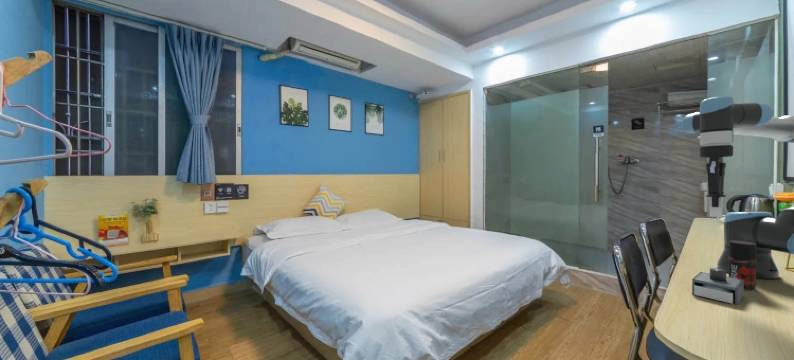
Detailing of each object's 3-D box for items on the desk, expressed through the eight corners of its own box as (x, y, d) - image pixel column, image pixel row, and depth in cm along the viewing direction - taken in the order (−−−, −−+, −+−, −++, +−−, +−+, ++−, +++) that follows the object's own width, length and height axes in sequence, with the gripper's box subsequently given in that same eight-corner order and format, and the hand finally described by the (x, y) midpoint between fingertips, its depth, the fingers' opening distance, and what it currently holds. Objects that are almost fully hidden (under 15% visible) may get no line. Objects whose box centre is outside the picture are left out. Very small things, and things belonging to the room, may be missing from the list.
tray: (702, 286, 100) (702, 278, 99) (739, 294, 93) (739, 285, 93) (694, 294, 93) (694, 285, 93) (732, 303, 87) (732, 294, 87)
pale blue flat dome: (725, 289, 94) (725, 283, 94) (734, 296, 89) (735, 290, 89) (699, 286, 97) (699, 280, 97) (707, 293, 92) (707, 286, 92)
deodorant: (725, 285, 101) (725, 241, 101) (733, 282, 103) (733, 239, 103) (750, 291, 96) (751, 245, 95) (759, 288, 98) (759, 243, 97)
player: (700, 285, 101) (700, 263, 101) (743, 295, 93) (744, 270, 93) (692, 293, 95) (692, 269, 95) (737, 304, 87) (738, 278, 87)
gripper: (704, 146, 105) (704, 213, 105) (695, 145, 97) (695, 217, 98) (736, 144, 98) (736, 215, 99) (729, 143, 91) (729, 220, 92)
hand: (715, 216), depth 98 cm, fingers closed
